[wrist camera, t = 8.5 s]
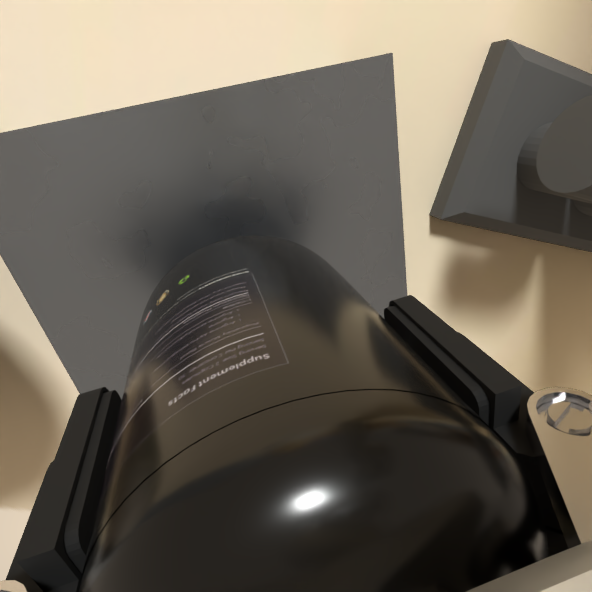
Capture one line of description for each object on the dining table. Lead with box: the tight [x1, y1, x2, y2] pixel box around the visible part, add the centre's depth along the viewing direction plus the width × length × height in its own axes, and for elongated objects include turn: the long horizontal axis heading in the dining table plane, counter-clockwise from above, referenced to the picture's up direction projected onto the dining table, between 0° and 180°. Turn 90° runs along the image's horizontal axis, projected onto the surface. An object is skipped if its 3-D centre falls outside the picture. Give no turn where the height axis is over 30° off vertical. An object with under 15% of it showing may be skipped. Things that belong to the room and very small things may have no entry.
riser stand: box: [0, 53, 407, 400], centre depth 18 cm, size 14×15×5 cm
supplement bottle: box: [79, 235, 549, 592], centre depth 8 cm, size 7×7×12 cm
